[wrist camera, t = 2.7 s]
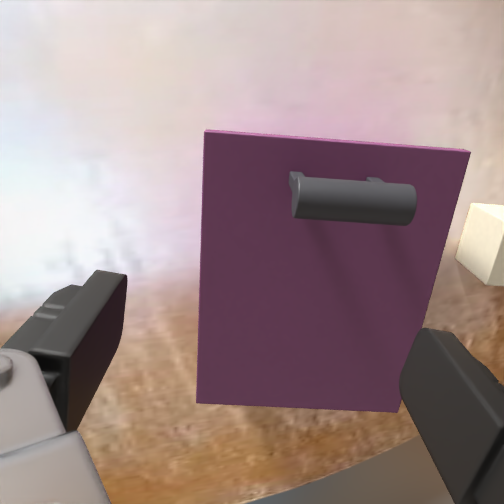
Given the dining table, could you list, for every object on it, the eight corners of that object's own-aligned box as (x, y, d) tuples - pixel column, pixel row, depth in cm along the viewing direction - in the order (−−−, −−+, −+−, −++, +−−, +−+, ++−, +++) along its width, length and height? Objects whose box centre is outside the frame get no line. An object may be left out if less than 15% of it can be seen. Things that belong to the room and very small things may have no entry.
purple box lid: (205, 129, 21) (192, 145, 16) (463, 149, 21) (533, 171, 16) (197, 395, 28) (186, 467, 22) (394, 404, 28) (427, 477, 23)
